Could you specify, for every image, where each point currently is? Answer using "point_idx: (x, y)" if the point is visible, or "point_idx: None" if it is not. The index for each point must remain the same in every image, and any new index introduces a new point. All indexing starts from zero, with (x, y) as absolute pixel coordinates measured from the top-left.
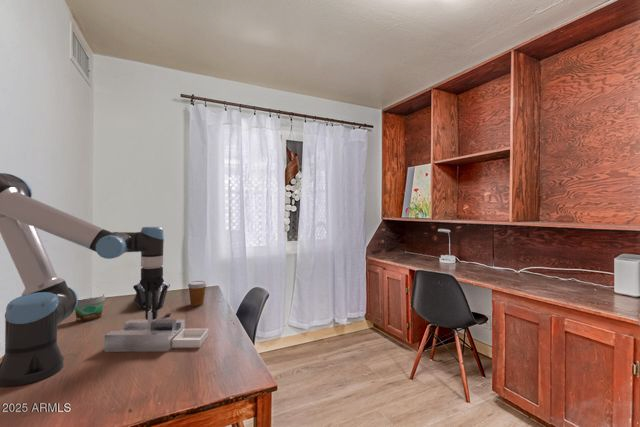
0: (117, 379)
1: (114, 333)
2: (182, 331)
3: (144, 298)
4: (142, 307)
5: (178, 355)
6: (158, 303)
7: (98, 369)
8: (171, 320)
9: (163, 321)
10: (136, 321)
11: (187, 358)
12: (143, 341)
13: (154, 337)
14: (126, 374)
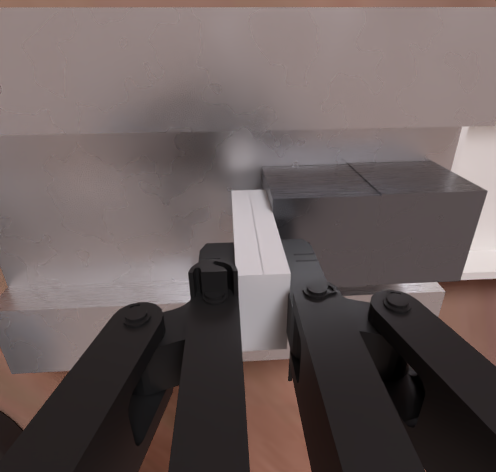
0: (275, 456)
1: (54, 350)
2: (465, 135)
3: (83, 451)
4: (158, 399)
5: (442, 320)
6: (412, 443)
7: (165, 418)
8: (441, 220)
9: (371, 249)
10: (10, 89)
11: (484, 341)
12: None
13: None
14: (288, 436)
